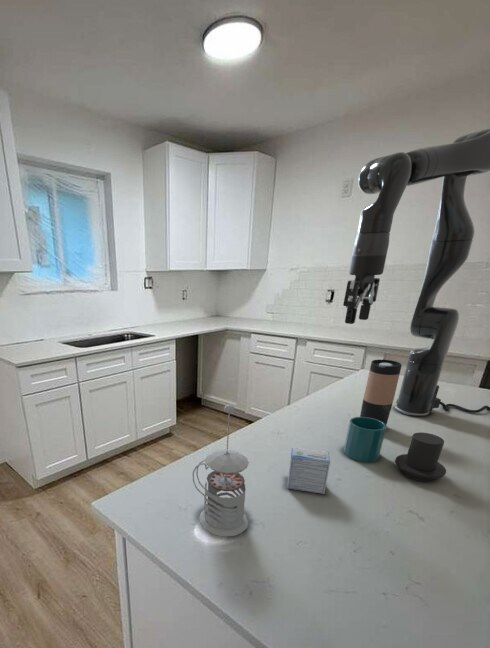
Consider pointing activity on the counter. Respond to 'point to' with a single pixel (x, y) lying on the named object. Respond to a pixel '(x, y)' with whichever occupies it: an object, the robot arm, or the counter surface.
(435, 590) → the counter surface
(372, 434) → the cup
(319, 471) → the medicine box
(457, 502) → the counter surface
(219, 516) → the french press
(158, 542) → the counter surface
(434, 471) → the dark grey top hat
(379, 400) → the travel mug
